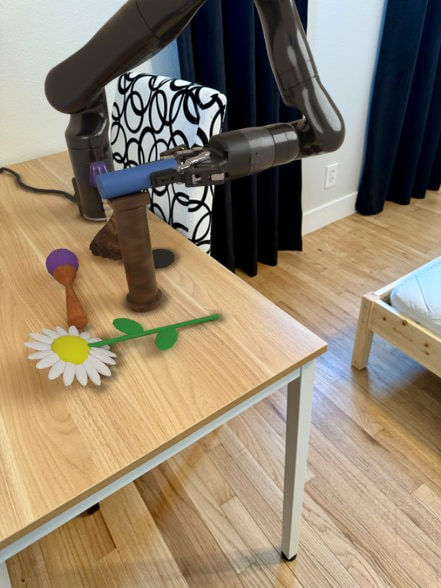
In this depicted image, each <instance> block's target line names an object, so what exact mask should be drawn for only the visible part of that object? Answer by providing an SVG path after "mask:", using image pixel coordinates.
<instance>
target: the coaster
mask: <svg viewBox="0 0 441 588" xmlns="http://www.w3.org/2000/svg"><path fill="white" fill-rule="evenodd" d="M152 253H153V260H154V267H155V270H159V269H164V268H167V267H169V266H171V265H172V264H173V263H174V261H175V260H176V256H175V253H174V252H173V251H171V250H169V249H165V248H155V249H152Z"/></svg>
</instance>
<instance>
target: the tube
mask: <svg viewBox="0 0 441 588" xmlns="http://www.w3.org/2000/svg"><path fill="white" fill-rule="evenodd" d="M146 163H147V162H146ZM177 166H178V164H177V162H176V161H175V159H174V158H170V159H165V160H161V161H156V162H152V163H147V164H143V165H140V164H139V165H135V166H130V167H126V168H121V169H117V170H115V171H112V172H108V173H103V174H99V175H96V184H97V188H98V191H99V194H100V196H101V198H102V199H103V200H106V199H110V198H114V197H118V196H122V195H126V194H130V193H134V192H138V191H142V192H143V191H145V190H149V189H153V188H154V187H152V186H151V182H150V174H151V173H152V172H156V171H160V170H164V169H168V168H173V169H174V170H175V167H177ZM154 189H155V188H154Z"/></svg>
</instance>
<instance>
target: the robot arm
mask: <svg viewBox="0 0 441 588" xmlns="http://www.w3.org/2000/svg"><path fill="white" fill-rule="evenodd" d="M207 1H208V0H127V1H125V2H124V3H123V4H122V5H121V6H120V7H119V9H117V10H116V11H115V12H114V14H113V15H111V17H110V18H108V19H107V20H106V21H105V23H104V24H103V25H102V26H101V27H100V28H99V29H98V30H97V31H96V32H95V33H94V35H93V36H92V37H91V38H89V40H88V41H87V42H86V43H85V44H84V45H83V46H81V47H80V48H79V49H78V50H77V51H75V52H73V53H72V54H71V55H69V56H68V57H67V58H65V59H64V60H62V61H61V62H59V63H57V64H56V65H55V66H53V67H51V68H50V69H49V71H48V72H47V74H46V76H45V79H44V85H43V87H44V91H43V92H44V95H45V98H46V100H47V103H48V104H49V105H50V106H51V107H52V108H53V109H54V110H56V111H57V112H58V113H61V114H64V115H69V121H68V123H67V126H66V129H65V130H64V140H65V145H66V148H67V152H68V156H69V160H70V164H71V168H72V172H73V177H72V178H71V183H72V188H73V191H74V194H73V195H72V194H70V193H69V192H67V191H64V190H60V189H50V188H37V187H34V186H30V185H27V184H25V183H24V182H23V181H21V176H20V174H19V173H18V172H16V171H14V170H13V169H11V168H8V167H6V166H5V167H4V166H2V167H0V173H3V171H6V172H8V173H10V174H12V175H13V176H15V177H16V183H17V184H18V185H19V186H20V187H22V188H24V189H26V190H29V191H33V192H36V193H42V194H43V193H44V194H59V195H63V196H65V197H67V198H68V199H69V200H71V201H72V202H74V203H76V204H77V208H78V212H79V216H80V217H83V218H84V220H86V221H89V222H95V223H98V222H107V219H106V217H107V216H106V215H105V209H104V207H103V204H104V203H103V202H102V198H101V196H100V194H99V191H98V188H97V187H95V186H92V185H91V184H90V165H91V164H92V163H93V162H97V161H102V162H104V163H105V164H106V166H107V168H108V170H109V172H112V171H116V170H115V168H116V167H115V164H114V159H113V153H112V147H111V142H110V136H109V131H110V125H111V124H110V123H111V122H110V113H109V105H108V98H107V92H106V86H107V85H109V84H110V83H112V81H114V80H116V79H117V78H120V77H121V76H123V75H125V74H127V73H128V72H130V71H133V70H134V69H136V68H138V67H140V66H141V65H143V64H144V63H146V62H147V61H149V60H150V59H152V58H153V57H155V56H157V55H158V54H159V53H160V52H161V51H163V50H164V49H165V48H166V47H168V46H169V45H170V44H172V43H173V42H174V41H175V40H176V39H177V38H179V36H180V35H182V33H183V32H184V30H185V29H186V28H187V27H188V25H189V24H190V23H191V21H192V19H193V18H194V17H195V15H196V14H197V12H198V11H199V9H201V7H202V6H203V5H204V4H205V3H206V2H207ZM253 2H254V4H255V7H256V9H257V13H258V16H259V20H260V23H261V27H262V32H263V38H264V42H265V48H266V52H267V53H266V54H267V57H268V62H269V64H270V68H271V70H272V74H273V77H274V78H275V82H276V85H277V88H278V90H279V93H280V96H281V98H282V100H283V101H282V102H283V103H284V104H285V106H286V107H288V108H291V109H297V110H299V111H300V112H301V114H302V115H303V117H304V118H300V119H297V120H294V121H290V122H276V123H270V124H267V125H261V126H252V127H245V128H240V129H235V130H231V131H226V132H220V133H216V134H213V135H212V136H211V137H210V138H209V140H208V142H207V143H206V145H205V146H204V147H202V146H196V147H191V149H188V146H187V144H185V143H181V144H179V145H177V146H173V147H171V148H169V149H166V150H164V151H161V152H159V159H156V160H152V161H148V162H147V161H146V162H143V163H140V164H139V165H143V164H147V163H152V162H156V161H161V160H165V159H170V158H174V159H175V161H176V162H177V164H178V166H177V167H175V170H174V169H173V168H168V169H164V170H160V171H156V172H152V173H151V174H150V182H151V186H152V187H154V189H157V188H161V187H165V186H170V185H173V184H176V185H179V186H180V185H184V187H185V188H186V189H187V188H189V189H190V188H201V187H211V186H219V185H221V186H222V185H224V184H225V183H227V182H229V181H233V180H237V179H240V178H241V179H242V178H244V177H249V176H251V175H256V174H259V173H261V172H264V171H266V170H268V169H273V168H277V167H280V166H283V165H287V164H289V163H291V162H292V161H293V162H294V161H297V160H302V159H308V158H312V157H316V156H323V155H328V154H332V153H335V152H336V151H338V150H339V149H340V148H341V147H342V146H343V144H344V142H345V138H346V124H345V123H346V122H345V120H344V117H343V115H342V113H341V112H340V109H339V108H338V105H336V103H335V102H334V100H333V98H332V97H331V95H330V93H329V92H328V91H327V89H326V87H325V86H324V84H323V83H322V81H321V77H320V74H319V70H318V68H317V65H316V61H315V58H314V55H313V52H312V50H311V46H310V43H309V41H308V38H307V35H306V32H305V30H304V27H303V23H302V21H301V18H300V15H299V12H298V9H297V6H296V2H295V0H253ZM112 210H113V209H112Z"/></svg>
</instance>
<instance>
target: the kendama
mask: <svg viewBox="0 0 441 588" xmlns="http://www.w3.org/2000/svg"><path fill="white" fill-rule="evenodd" d="M45 259H46V260H45V268H46V271H47V273H48V274H49V275H50V276H51V277H52V278H53V279H54V280H55V281H56V282H57V283H59V284H61V285H62V286H64V292H65V294H64V295H65V308H66V309H65V310H66V323H67V327H68V329H69V328H70V326H75V328H76V329H77V330H78V331H79V330H82V329H84V328H86V327H87V325H89V318H88V316H87V314H86V311H85V309H84V307H83V305H82V303H81V300H80V299H79V297H78V295H77V293H76V291H75V289H74V287H73V283H74V282H75V280H76V278H77V274H78V271H79V267H80V263H79V259H78V256H77V254H75V253H74V252H73V251H72V250H69V249H68V248H62V247H61V248H56V249H53V250H52V251H50V253H49V254H48V256H47V257H46V258H45Z"/></svg>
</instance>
